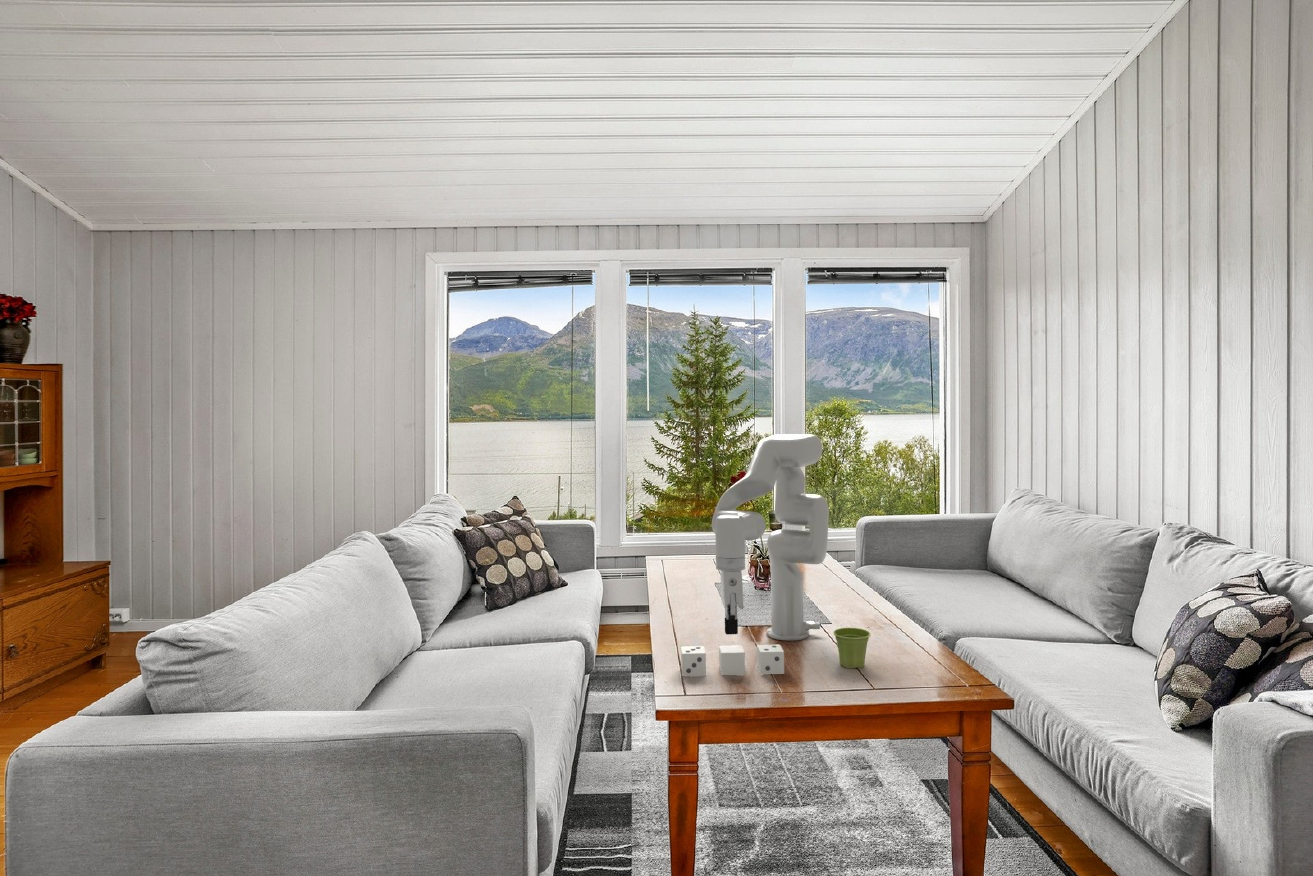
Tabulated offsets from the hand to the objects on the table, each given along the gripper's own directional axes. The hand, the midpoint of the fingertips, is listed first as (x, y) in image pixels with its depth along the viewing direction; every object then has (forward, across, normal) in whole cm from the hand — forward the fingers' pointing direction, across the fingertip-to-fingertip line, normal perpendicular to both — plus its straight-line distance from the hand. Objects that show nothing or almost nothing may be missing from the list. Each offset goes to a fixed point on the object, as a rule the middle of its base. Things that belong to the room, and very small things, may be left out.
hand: (731, 633), depth 201 cm
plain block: (+10, 0, 0) cm, 10 cm away
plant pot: (+10, +3, -32) cm, 34 cm away
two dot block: (+10, 0, -10) cm, 14 cm away
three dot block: (+10, 0, +10) cm, 14 cm away
